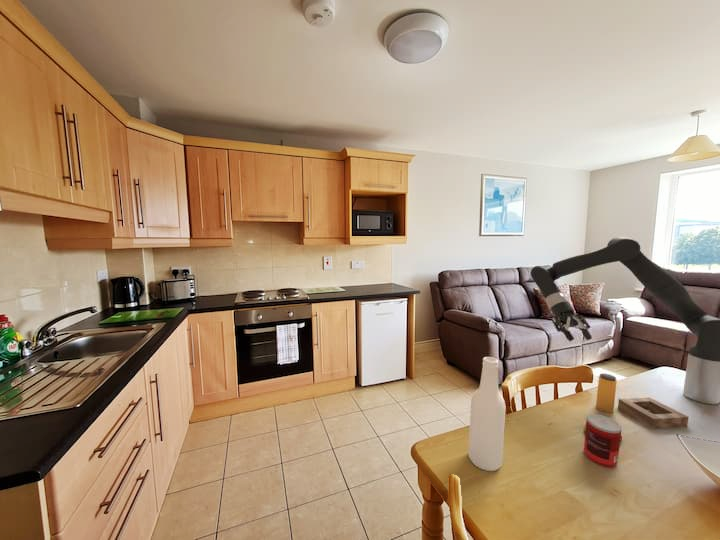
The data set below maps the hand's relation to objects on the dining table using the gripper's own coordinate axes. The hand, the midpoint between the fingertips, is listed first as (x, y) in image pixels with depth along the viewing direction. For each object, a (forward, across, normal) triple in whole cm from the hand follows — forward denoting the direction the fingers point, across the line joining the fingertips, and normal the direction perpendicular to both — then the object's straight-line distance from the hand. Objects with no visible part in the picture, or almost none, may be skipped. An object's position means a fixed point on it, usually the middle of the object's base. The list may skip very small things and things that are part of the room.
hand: (580, 339), depth 117 cm
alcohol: (+35, -59, -3) cm, 69 cm away
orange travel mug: (+24, 0, +8) cm, 25 cm away
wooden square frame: (+29, +12, +2) cm, 31 cm away
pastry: (+32, -16, 0) cm, 36 cm away
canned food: (+38, -26, -6) cm, 47 cm away
